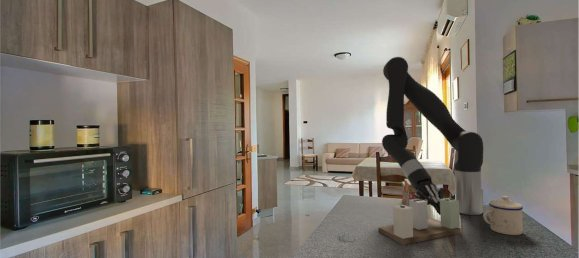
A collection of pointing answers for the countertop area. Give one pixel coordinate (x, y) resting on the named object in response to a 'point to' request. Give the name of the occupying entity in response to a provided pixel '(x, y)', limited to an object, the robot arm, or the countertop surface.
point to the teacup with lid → (505, 216)
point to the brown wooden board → (421, 232)
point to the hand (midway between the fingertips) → (443, 213)
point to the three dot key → (419, 213)
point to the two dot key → (449, 213)
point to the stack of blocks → (407, 192)
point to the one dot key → (403, 221)
